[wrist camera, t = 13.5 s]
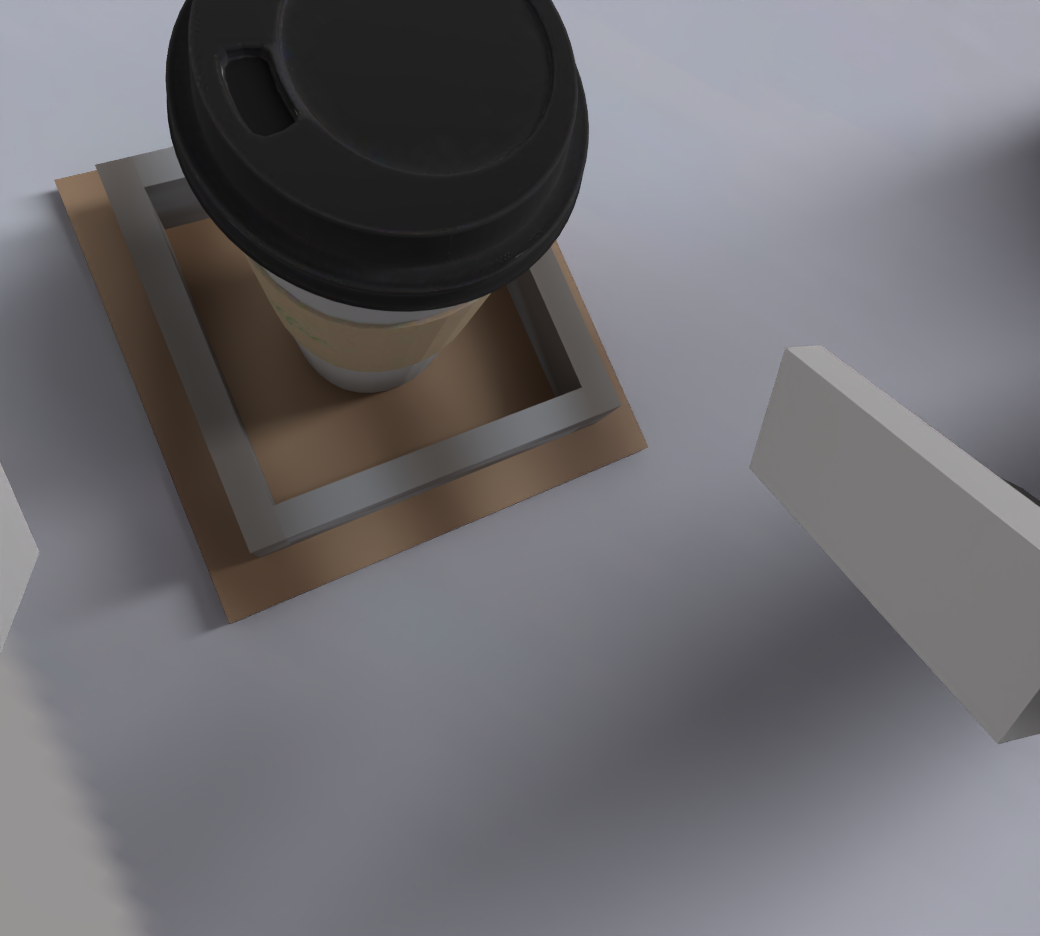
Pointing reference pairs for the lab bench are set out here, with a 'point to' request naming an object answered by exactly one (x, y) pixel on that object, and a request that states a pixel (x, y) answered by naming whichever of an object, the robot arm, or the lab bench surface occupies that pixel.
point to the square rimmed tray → (331, 399)
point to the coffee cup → (379, 161)
